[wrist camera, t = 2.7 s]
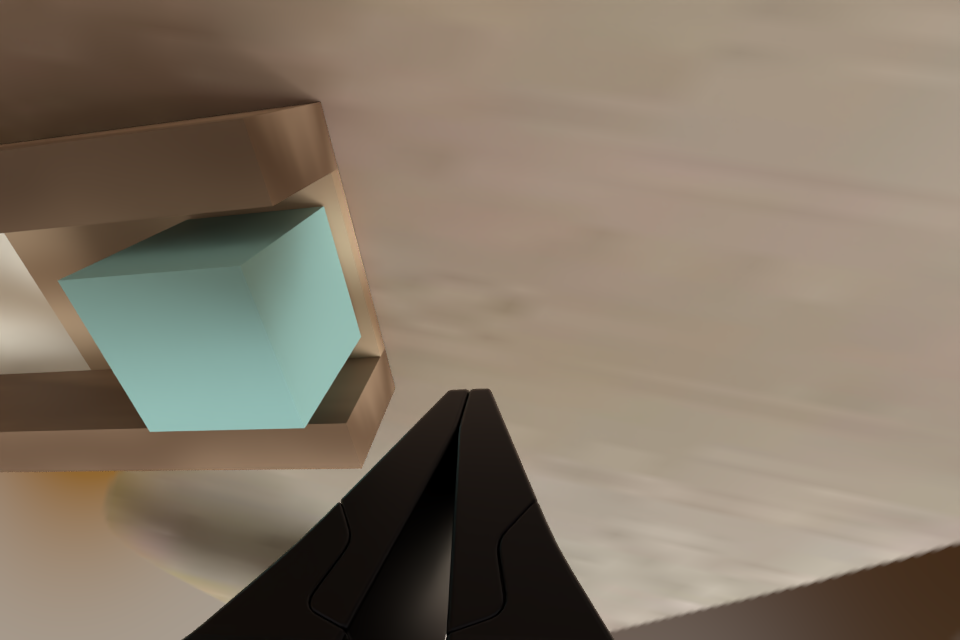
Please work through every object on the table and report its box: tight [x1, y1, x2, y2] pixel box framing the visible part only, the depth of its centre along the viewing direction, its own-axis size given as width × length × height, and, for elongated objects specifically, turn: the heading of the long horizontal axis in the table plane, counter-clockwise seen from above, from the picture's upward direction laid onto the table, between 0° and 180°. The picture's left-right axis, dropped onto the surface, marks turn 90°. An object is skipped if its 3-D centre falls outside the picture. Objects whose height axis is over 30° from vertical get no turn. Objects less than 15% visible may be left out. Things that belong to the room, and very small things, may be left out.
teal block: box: [58, 206, 361, 432], centre depth 15 cm, size 5×5×5 cm
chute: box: [0, 102, 395, 472], centre depth 16 cm, size 11×18×4 cm, turn 97°
